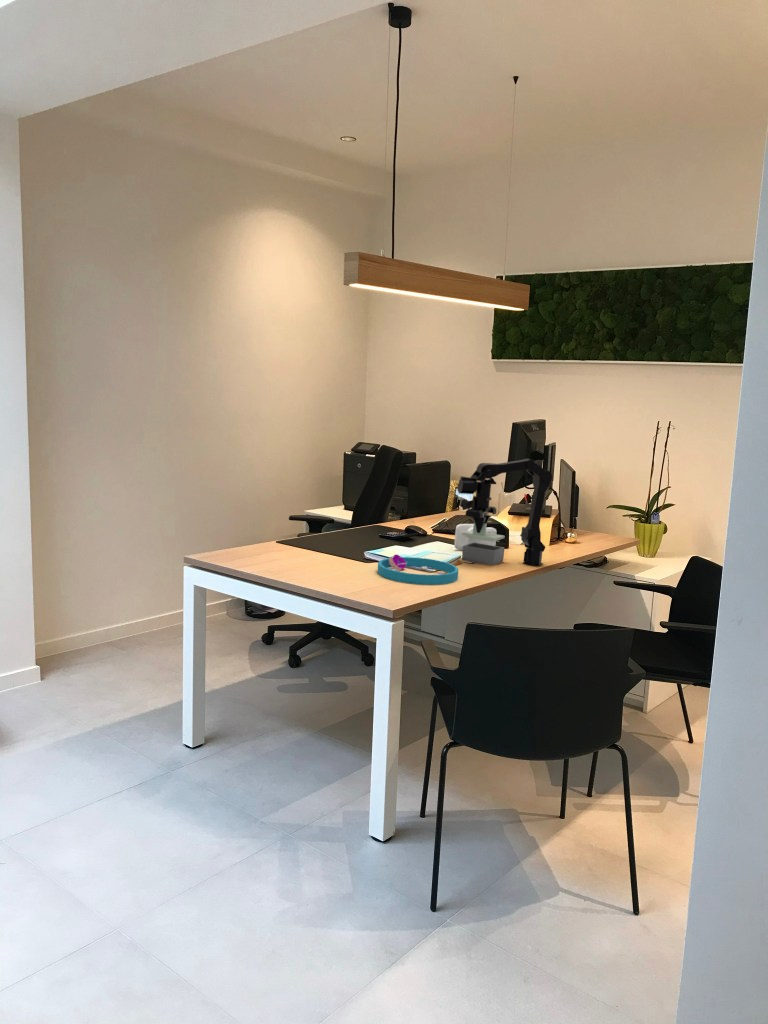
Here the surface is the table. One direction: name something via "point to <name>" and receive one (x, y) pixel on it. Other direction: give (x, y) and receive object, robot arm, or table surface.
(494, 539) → the lid
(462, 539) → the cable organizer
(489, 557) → the parts tub
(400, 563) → the teal ring
